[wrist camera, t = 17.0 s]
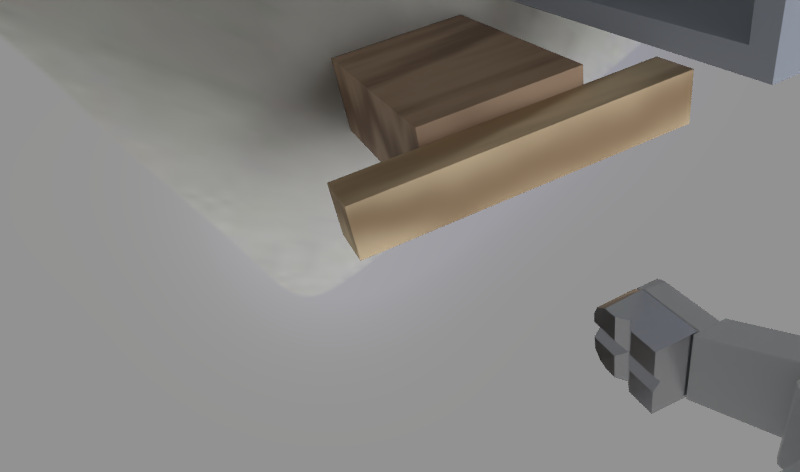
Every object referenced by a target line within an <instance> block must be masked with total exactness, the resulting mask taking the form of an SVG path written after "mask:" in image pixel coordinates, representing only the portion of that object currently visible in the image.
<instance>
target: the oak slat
mask: <svg viewBox="0 0 800 472" xmlns="http://www.w3.org/2000/svg"><path fill="white" fill-rule="evenodd" d="M693 70H694V69H692V68H689V67H686V66H683V65H680V64H677V63H674V62H671V61H668V60H665V59H662V58H660V57H654V58H652V59H649V60H646V61H644V62H641V63H639V64H636V65H634V66H631V67H628V68H625V69H623V70H621V71H618V72H615V73H612V74H610V75H607V76H605V77H602V78H599V79H597V80H594V81H592V82H589V83H586V84H584V85H581V86H579V87H576V88H573V89H571V90H568V91H565V92H563V93H560V94H558V95H555V96H552V97H550V98H547V99H545V100H542V101H539V102H537V103H534V104H532V105H529V106H526V107H524V108H521V109H519V110H516V111H513V112H511V113H508V114H505V115H503V116H500V117H498V118H495V119H492V120H490V121H487V122H485V123H482V124H479V125H477V126H474V127H472V128H469V129H466V130H464V131H461V132H459V133H456V134H453V135H451V136H448V137H445V138H443V139H440V140H438V141H435V142H432V143H430V144H427V145H425V146H422V147H419V148H417V149H414V150H412V151H409V152H406V153H404V154H401V155H399V156H396V157H393V158H391V159H388V160H385V161H383V162H380V163H378V164H375V165H372V166H370V167H367V168H365V169H362V170H359V171H357V172H354V173H352V174H349V175H346V176H344V177H341V178H339V179H336V180H333V181H331V182H328V183H327V184H328V187H329V190H330V194H331V197H332V200H333V203H334V207H335V210H336V213H337V216H338V219H339V223H340V226H341V229H342V232H343V235H344V236H345V238H346V240H347V241H348V243H349V244H350V246H351V247H352V249H353V250H354V252H355V253H356V255H357V256H358V258H359V259H360V261H361V260H364V259H366V258H368V257H371V256H373V255H376V254H378V253H380V252H383V251H385V250H388V249H390V248H392V247H395V246H397V245H400V244H402V243H404V242H406V241H409V240H411V239H414V238H416V237H419V236H421V235H423V234H426V233H428V232H431V231H433V230H435V229H438V228H440V227H443V226H445V225H447V224H450V223H452V222H455V221H457V220H459V219H461V218H464V217H466V216H469V215H471V214H474V213H476V212H478V211H481V210H483V209H486V208H488V207H490V206H493V205H495V204H498V203H500V202H502V201H505V200H507V199H510V198H512V197H514V196H517V195H519V194H521V193H524V192H526V191H529V190H531V189H534V188H536V187H538V186H541V185H543V184H545V183H548V182H550V181H553V180H555V179H557V178H560V177H562V176H565V175H567V174H569V173H572V172H574V171H577V170H579V169H581V168H584V167H586V166H588V165H591V164H593V163H596V162H598V161H601V160H603V159H605V158H608V157H610V156H613V155H615V154H617V153H620V152H622V151H624V150H627V149H629V148H631V147H634V146H636V145H639V144H641V143H644V142H646V141H648V140H651V139H653V138H656V137H658V136H660V135H663V134H665V133H667V132H670V131H672V130H675V129H677V128H679V127H682V126H684V125H687V124H689V119H690V107H691V95H692V83H693Z"/></svg>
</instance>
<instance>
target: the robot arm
mask: <svg viewBox="0 0 800 472" xmlns="http://www.w3.org/2000/svg"><path fill="white" fill-rule="evenodd" d="M594 321H595V323H596V324H598V326H600V328H599V330H598V332H597V334H596V335H595V348H596V351H597V353H598V356H599V358H600V360H601V362H602V363H603V365H604V366H605V368H606V369H607V370H608V371H609V372H610V373H611V374H612V375H613V376H614V377H616V378H619V379H622V380H626V381H628V386H629V392H630V393H631V394H632V395H633V396H634V397H635V398H636V399H637V400H638V401H639V402H640V403H641V404H642V405H643V406H644V407H645V408H647V410H648V411H649V412H650V413H654V412H656V411H658V410H660V409H662V408H664V407H666V406H668V405H670V404H672V403H674V402H676V401H678V400H680V399H682V398H684V397H686V399H688V400H691V401H693V402H695V403H698V404H700V405H703V406H705V407H708V408H710V409H712V410H715V411H717V412H720V413H722V414H725V415H727V416H730V417H732V418H735V419H737V420H740V421H742V422H745V423H747V424H749V425H752V426H754V427H757V428H760V429H762V430H764V431H767V432H769V433H772V434H774V435H777V436H779V437H782V440H781V444H780V448H779V452H778V455H777V464H778V465H779V466H780V467H781V468H782V469H783V470H782V471H780V472H800V336H799V335H795V334H791V333H787V332H782V331H778V330H773V329H769V328H764V327H760V326H756V325H751V324H747V323H743V322H738V321H734V320H729V319H724V320H722V321H719V320H717V319H716V318H714V317H713V316H712V315H710V314H709V313H708V312H706V311H705V310H703V309H702V308H701V307H699V306H698V305H697V304H695V303H694V302H692V301H691V300H690V299H688V298H687V297H685V296H684V295H683V294H681V293H680V292H679V291H677V290H676V289H675V288H673V287H672V286H670V285H669V284H667V283H666V282H665V281H663V280H660V279H656V280H654V281H651V282H649V283H647V284H645V285H643V286H641V287H639V288H637V289H634V290H632V291H630V292H627V293H626V294H624V295H622V296H619V297H617V298H615V299H613V300H611V301H609V302H607V303H605V304H603V305H601V306H599V307H597V309H596V311H595V313H594Z"/></svg>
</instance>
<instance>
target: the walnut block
mask: <svg viewBox="0 0 800 472" xmlns="http://www.w3.org/2000/svg"><path fill="white" fill-rule="evenodd" d="M331 59H332V63H333V66H334V70H335V74H336V77H337V81H338V85H339V88H340V92H341V96H342V100H343V103H344V107H345V111H346V114H347V118H348V122H349V126H350V129H351V131H352V132H353V133H354V134H355V135H356V136H357V137H358V138H359V139H360V140H361V141H362V142H363V144H364V145H365V146H366V147H367V148H368V149H369V150H370V151H371V152H372V153H373V154H374V155H375V156H376V157H377V158H378V159H379V160H380V161H381V162H383V161H385V160H388V159H391V158H393V157H396V156H399V155H401V154H404V153H406V152H409V151H412V150H414V149H417V148H419V147H422V146H425V145H427V144H430V143H432V142H435V141H438V140H440V139H443V138H445V137H448V136H451V135H453V134H456V133H459V132H461V131H464V130H466V129H469V128H472V127H474V126H477V125H479V124H482V123H485V122H487V121H490V120H492V119H495V118H498V117H500V116H503V115H505V114H508V113H511V112H513V111H516V110H519V109H521V108H524V107H526V106H529V105H532V104H534V103H537V102H539V101H542V100H545V99H547V98H550V97H552V96H555V95H558V94H560V93H563V92H565V91H568V90H571V89H573V88H576V87H579V86H581V85H583V64H580V63H578V62H575V61H573V60H570V59H568V58H565V57H563V56H560V55H558V54H556V53H553V52H551V51H548V50H546V49H543V48H541V47H538V46H536V45H534V44H531V43H529V42H526V41H524V40H521V39H519V38H516V37H514V36H512V35H509V34H507V33H504V32H502V31H499V30H497V29H494V28H492V27H490V26H487V25H485V24H482V23H480V22H477V21H475V20H472V19H470V18H468V17H465V16H463V15H458V16H455V17H452V18H449V19H446V20H444V21H441V22H438V23H435V24H432V25H429V26H426V27H423V28H420V29H417V30H414V31H411V32H408V33H405V34H402V35H399V36H396V37H393V38H390V39H387V40H385V41H382V42H379V43H376V44H373V45H370V46H367V47H364V48H361V49H358V50H355V51H352V52H349V53H346V54H343V55H340V56H337V57H334V58H331Z"/></svg>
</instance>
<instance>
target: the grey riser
mask: <svg viewBox="0 0 800 472" xmlns="http://www.w3.org/2000/svg"><path fill="white" fill-rule="evenodd" d="M512 1H515V2H518V3H521V4H524V5H527V6H530V7H533V8H536V9H539V10H543V11H546V12H549V13H552V14H555V15H558V16H561V17H564V18H567V19H570V20H573V21H577V22H580V23H583V24H586V25H589V26H592V27H595V28H598V29H601V30H604V31H607V32H610V33H614V34H617V35H620V36H623V37H626V38H629V39H632V40H635V41H638V42H641V43H644V44H648V45H651V46H654V47H657V48H660V49H663V50H666V51H669V52H672V53H675V54H678V55H682V56H685V57H688V58H691V59H694V60H697V61H700V62H703V63H706V64H710V65H712V66H716V67H719V68H722V69H725V70H728V71H731V72H734V73H737V74H740V75H743V76H746V77H750V78H753V79H756V80H759V81H762V82H765V83H768V84H771V85H773V84H776V83H778V82H780V81H783V80H785V79H788V78H790V77H792V76H795V75H797V74H799V73H800V0H512Z"/></svg>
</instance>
